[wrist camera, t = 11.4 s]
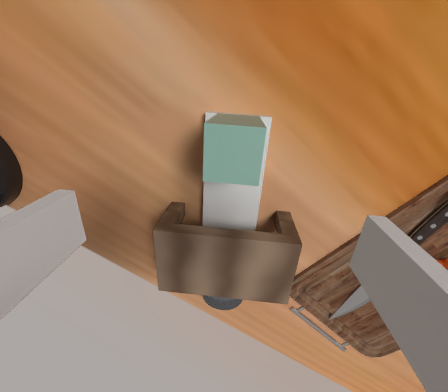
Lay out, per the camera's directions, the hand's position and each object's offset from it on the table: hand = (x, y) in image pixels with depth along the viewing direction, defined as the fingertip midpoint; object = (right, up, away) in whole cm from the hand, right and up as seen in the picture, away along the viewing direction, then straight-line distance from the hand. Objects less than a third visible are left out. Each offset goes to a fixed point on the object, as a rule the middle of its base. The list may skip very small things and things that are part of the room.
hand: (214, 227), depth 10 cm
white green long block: (+2, 0, +24) cm, 24 cm away
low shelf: (+1, -5, +26) cm, 26 cm away
